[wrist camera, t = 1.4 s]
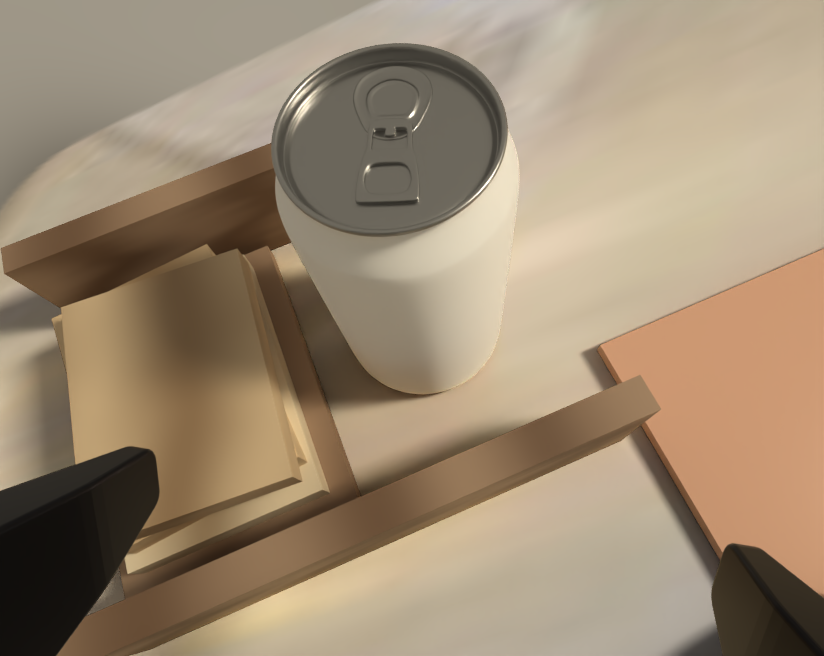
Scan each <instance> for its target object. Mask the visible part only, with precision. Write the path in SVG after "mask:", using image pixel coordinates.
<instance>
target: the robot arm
mask: <svg viewBox="0 0 824 656" xmlns="http://www.w3.org/2000/svg"><path fill="white" fill-rule="evenodd" d="M159 494H160V488H159V479H158V470H157V462H156V456H155V454H154V452H153V451H152V450H150V449H146V448H140V447H134V446H127V447H124V448H121V449H118V450H115V451H112V452H110V453H107V454H104V455H101V456H98V457H95V458H93V459H90V460H87V461H84V462H81V463H78V464H75V465H73V466H70V467H67V468H64V469H61V470H58V471H56V472H53V473H50V474H47V475H44V476H41V477H38V478H36V479H33V480H30V481H27V482H24V483H21V484H19V485H16V486H13V487H10V488H7V489H4V490H1V491H0V656H57V654H58V653H59V652H60V650H61V649H62V648H63V646H64V645H65V643H66V642H67V641H68V639H69V638H70V637H71V635H72V634H73V633H74V631H75V630H76V629H77V627H78V626H79V624H80V623H81V622H82V620H83V619H84V618H85V616H86V615H87V614H88V612H89V611H90V610H91V608H92V607H93V605H94V604H95V603H96V601H97V600H98V599H99V597H100V596H101V594H102V593H103V591H104V590H105V589H106V587H107V586H108V584H109V583H110V581H111V579H112V578H113V576H114V575H115V573H116V572H117V570H118V568H119V567H120V565H121V563H122V562H123V560H124V558H125V557H126V555H127V553H128V552H129V550H130V548H131V547H132V545H133V543H134V542H135V540H136V538H137V537H138V535H139V533H140V532H141V530H142V528H143V527H144V525H145V523H146V522H147V520H148V518H149V517H150V515H151V513H152V512H153V510H154V508H155V506H156V505H157V502H158V499H159ZM711 598H712V606H713V611H714V616H715V620H716V625H717V630H718V635H719V639H720V644H721V649H722V654H723V656H824V598H823V597H822V596H821V595H820V594H818V593H817V592H816V591H814V590H813V589H812V588H811V587H809V586H808V585H807V584H806V583H804V582H803V581H802V580H801V579H799V578H798V577H797V576H795V575H794V574H793V573H792V572H790V571H789V570H788V569H787V568H785V567H784V566H783V565H782V564H780V563H779V562H778V561H776V560H775V559H774V558H773V557H771V556H770V555H769V554H768V553H766V552H765V551H764V550H762V549H761V548H758V547H755V546H749V545H742V544H736V543H731V544H728V545H727V546H726V547H725V549H724V551H723V554H722V557H721V560H720V563H719V567H718V570H717V573H716V576H715V579H714V582H713V586H712V594H711Z"/></svg>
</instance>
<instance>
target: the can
mask: <svg viewBox="0 0 824 656" xmlns="http://www.w3.org/2000/svg"><path fill="white" fill-rule="evenodd" d="M271 155H272V163H273V167H274V171H275V174H276V179H275V194H276V202H277V207H278V211H279V214H280V217H281V220H282V223H283V226H284V228H285V230H286V232H287V234H288V236H289V238H290V240H291V242H292V244H293V246H294V248H295V250H296V252H297V253H298V255H299V257H300V259H301V261H302V263H303V264H304V266H305V268H306V270H307V272H308V274H309V275H310V277H311V279H312V281H313V283H314V284H315V286H316V288H317V290H318V292H319V293H320V295H321V297H322V299H323V300H324V302H325V304H326V306H327V308H328V309H329V311H330V313H331V315H332V316H333V318H334V320H335V322H336V324H337V325H338V327H339V329H340V331H341V332H342V334H343V336H344V338H345V339H346V341H347V343H348V345H349V346H350V348H351V350H352V351H353V353H354V355H355V356H356V358H357V359H358V361H359V362H360V364H361V365H362V366H363V368H364V369H365V370H366V371H367V372H368V373H369V374H370V375H371V376H372V377H374V378H375V379H376V380H378V381H379V382H381V383H382V384H384V385H386V386H388V387H390V388H392V389H395V390H398V391H401V392H406V393H411V394H433V393H439V392H443V391H446V390H449V389H452V388H454V387H457V386H459V385H461V384H463V383H464V382H466V381H467V380H469V379H470V378H472V377H473V376H474V375H475V374H476V373H477V372H478V371H479V370H480V369H481V368H482V367H483V366H484V365H485V364H486V362H487V361H488V359H489V358H490V356H491V354H492V352H493V350H494V348H495V346H496V343H497V340H498V336H499V332H500V327H501V321H502V314H503V307H504V300H505V293H506V286H507V279H508V272H509V265H510V257H511V250H512V242H513V235H514V227H515V220H516V211H517V203H518V193H519V162H518V156H517V151H516V148H515V145H514V142H513V139H512V137H511V135H510V133H509V130H508V125H507V117H506V112H505V109H504V106H503V103H502V101H501V98H500V96H499V94H498V93H497V91H496V89H495V88H494V86H493V85H492V84H491V82H490V81H489V80H488V79H487V78H486V76H485V75H484V74H483V73H482V72H480V71H479V70H478V69H477V68H476V67H474V66H473V65H472V64H470V63H469V62H467V61H466V60H464V59H462V58H460V57H458V56H456V55H454V54H452V53H449V52H447V51H444V50H441V49H438V48H434V47H430V46H425V45H419V44H408V43H393V44H382V45H375V46H370V47H365V48H362V49H358V50H355V51H352V52H349V53H346V54H344V55H342V56H339V57H337V58H335V59H333V60H331V61H329V62H328V63H326V64H324V65H323V66H321V67H320V68H318V69H317V70H315V71H314V72H313V73H311V74H310V75H309V76H308V77H306V78H305V79H304V80H303V81H302V82H301V83H300V84H299V85H298V86H297V87H296V88H295V90H294V91H293V92H292V93H291V94H290V96H289V97H288V99H287V100H286V102H285V103H284V105H283V107H282V108H281V110H280V112H279V115H278V117H277V120H276V122H275V126H274V129H273V134H272V141H271Z"/></svg>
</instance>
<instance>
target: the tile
mask: <svg viewBox="0 0 824 656" xmlns="http://www.w3.org/2000/svg"><path fill="white" fill-rule="evenodd" d="M597 351H598V353H599V354H600V356H601V358H602V359H603V361H604V363H605V365H606V366H607V368H608V370H609V371H610V373H611V375H612V376H613V378H614V380H615V382H616V383H617V385H618V384H620V383H622V382H625V381H627V380H629V379H631V378H634V377H636V376H638V375H641V377H642V378H643V380H644V382H645V383H646V385H647V387H648V388H649V390H650V391H651V393H652V395H653V396H654V398H655V400H656V401H657V403H658V405H659V406H660V408H661V410H660V411H659V412H657V413H656V414H655V415H653V416H652V417H651V418H650V419H648V420H647V421H646V422H644V423H643V424H642V425H641V426H642V428H643V429H644V431H645V433H646V435H647V436H648V438H649V440H650V441H651V443H652V445H653V447H654V448H655V450H656V452H657V453H658V455H659V457H660V459H661V460H662V462H663V464H664V465H665V467H666V469H667V470H668V472H669V474H670V476H671V477H672V479H673V481H674V482H675V484H676V486H677V488H678V489H679V491H680V493H681V494H682V496H683V498H684V500H685V501H686V503H687V505H688V506H689V508H690V510H691V512H692V513H693V515H694V517H695V518H696V520H697V522H698V523H699V525H700V527H701V529H702V530H703V532H704V534H705V535H706V537H707V539H708V541H709V542H710V544H711V546H712V547H713V549H714V551H715V553H716V554H717V556H718V558H719V559H720V560H721V557H722V554H723V551H724V549H725V547H726V546H727V545H728V544H731V543H736V544H742V545H749V546H755V547H758V548H761V549H762V550H764V551H765V552H766V553H768V554H769V555H770V556H771V557H773V558H774V559H775V560H776V561H778V562H779V563H780V564H782V565H783V566H784V567H785V568H787V569H788V570H789V571H790V572H792V573H793V574H794V575H795V576H797V577H798V578H799V579H801V580H802V581H803V582H804V583H806V584H807V585H808V586H809V587H811V588H812V589H813V590H814V591H816V592H817V593H818V594H820V595H821V596H822V597H823V598H824V249H822V250H820V251H818V252H815V253H813V254H811V255H808V256H806V257H804V258H801V259H799V260H797V261H794V262H792V263H790V264H787V265H785V266H783V267H780V268H778V269H776V270H773V271H771V272H769V273H766V274H764V275H762V276H759V277H757V278H755V279H752V280H750V281H748V282H746V283H743V284H741V285H739V286H736V287H734V288H732V289H729V290H727V291H725V292H722V293H720V294H718V295H715V296H713V297H711V298H708V299H706V300H704V301H701V302H699V303H697V304H694V305H692V306H690V307H687V308H685V309H683V310H680V311H678V312H676V313H673V314H671V315H669V316H667V317H664V318H662V319H660V320H657V321H655V322H653V323H650V324H648V325H646V326H643V327H641V328H639V329H636V330H634V331H632V332H629V333H627V334H625V335H622V336H620V337H618V338H615V339H613V340H611V341H608V342H606V343H604V344H601V345H600V346H599V348H598V349H597Z"/></svg>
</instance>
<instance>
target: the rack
mask: <svg viewBox="0 0 824 656" xmlns="http://www.w3.org/2000/svg"><path fill="white" fill-rule="evenodd" d="M275 179H276V174H275V171H274V167H273V163H272V155H271V143H270V144H267V145H265V146H262V147H260V148H257V149H254V150H252V151H249V152H247V153H244V154H242V155H239V156H237V157H234V158H231V159H229V160H226V161H224V162H221V163H219V164H216V165H213V166H211V167H208V168H206V169H203V170H201V171H198V172H195V173H193V174H190V175H188V176H185V177H183V178H180V179H177V180H175V181H172V182H170V183H167V184H165V185H162V186H159V187H157V188H154V189H152V190H149V191H147V192H144V193H141V194H139V195H136V196H134V197H131V198H129V199H126V200H123V201H121V202H118V203H116V204H113V205H111V206H108V207H105V208H103V209H100V210H98V211H95V212H93V213H90V214H87V215H85V216H82V217H80V218H77V219H75V220H72V221H70V222H67V223H64V224H62V225H59V226H57V227H54V228H52V229H49V230H46V231H44V232H41V233H39V234H36V235H34V236H31V237H28V238H26V239H23V240H21V241H18V242H16V243H13V244H10V245H8V246H5V247H3V248H1V253H2V261H3V268H4V274H6V275H7V276H9V277H11V278H12V279H14V280H15V281H17V282H19V283H20V284H22V285H24V286H25V287H27V288H28V289H30V290H32V291H33V292H35V293H37V294H38V295H40V296H42V297H43V298H45V299H46V300H48V301H50V302H51V303H53V304H55V305H56V306H58V307H59V308H61V314H60V315H58V316H56V317H54V318H52V323H53V326H54V330H55V333H56V337H57V341H58V344H59V348H60V351H61V355H62V359H63V362H64V366H65V369H66V373H67V379H68V390H69V401H70V412H71V422H72V433H73V444H74V455H75V464H78V463H81V462H84V461H87V460H90V459H93V458H95V457H98V456H101V455H104V454H107V453H110V452H112V451H115V450H118V449H121V448H124V447H127V446H134V447H140V448H146V449H150V450H152V451H153V452H154V454H155V456H156V462H157V470H158V479H159V488H160V494H159V499H158V502H157V505H156V506H155V508H154V510H153V512H152V513H151V515H150V517H149V518H148V520H147V522H146V523H145V525H144V527H143V528H142V530H141V532H140V533H139V535H138V537H137V538H136V540H135V542H134V543H133V545H132V547H131V548H130V550H129V552H128V553H127V555H126V557H125V558H124V560H123V562H122V563H121V565H120V567H119V569H120V574H121V580H122V585H123V591H124V596H125V600H123V601H120V602H118V603H116V604H113V605H111V606H109V607H106V608H104V609H102V610H100V611H97V612H95V613H93V614H90V615H88V616H86V617H85V618H84V619H83V620H82V622H81V623H80V624H79V626H78V627H77V629H76V630H75V631H74V633H73V634H72V635H71V637H70V638H69V639H68V641H67V642H66V643H65V645H64V646H63V648H62V649H61V650H60V652H59V653H58V654H57V656H129V655H133V654H136V653H140V652H143V651H147V650H150V649H153V648H155V647H157V646H159V645H162V644H164V643H166V642H168V641H171V640H173V639H175V638H177V637H180V636H182V635H184V634H186V633H189V632H191V631H193V630H195V629H198V628H200V627H202V626H204V625H207V624H209V623H211V622H213V621H216V620H218V619H220V618H222V617H225V616H227V615H229V614H231V613H234V612H236V611H238V610H240V609H243V608H245V607H247V606H250V605H252V604H254V603H256V602H259V601H261V600H263V599H265V598H268V597H270V596H272V595H274V594H277V593H279V592H281V591H283V590H286V589H288V588H290V587H292V586H295V585H297V584H299V583H301V582H304V581H306V580H308V579H310V578H313V577H315V576H317V575H319V574H322V573H324V572H326V571H328V570H331V569H333V568H335V567H337V566H340V565H342V564H344V563H346V562H349V561H351V560H353V559H355V558H358V557H360V556H362V555H365V554H367V553H369V552H371V551H374V550H376V549H378V548H380V547H383V546H385V545H387V544H389V543H392V542H394V541H396V540H398V539H401V538H403V537H405V536H407V535H410V534H412V533H414V532H416V531H419V530H421V529H423V528H425V527H428V526H430V525H432V524H434V523H437V522H439V521H441V520H443V519H446V518H448V517H450V516H452V515H455V514H457V513H459V512H461V511H464V510H466V509H468V508H470V507H473V506H475V505H477V504H480V503H482V502H484V501H486V500H489V499H491V498H493V497H495V496H498V495H500V494H502V493H504V492H507V491H509V490H511V489H513V488H516V487H518V486H520V485H522V484H525V483H527V482H529V481H531V480H534V479H536V478H538V477H540V476H543V475H545V474H547V473H549V472H552V471H554V470H556V469H558V468H561V467H563V466H565V465H567V464H570V463H572V462H574V461H576V460H579V459H581V458H583V457H585V456H588V455H590V454H592V453H595V452H597V451H599V450H601V449H604V448H606V447H608V446H610V445H613V444H615V443H617V442H619V441H621V440H623V439H624V438H625V437H626V436H628V435H629V434H630V433H632V432H633V431H634V430H635V429H637V428H638V427H639V426H641V425H642V424H643V423H644V422H646V421H647V420H648V419H650V418H651V417H652V416H653V415H655V414H656V413H657V412H659V411H660V410H661V408H660V406H659V405H658V403H657V401H656V400H655V398H654V396H653V395H652V393H651V391H650V390H649V388H648V387H647V385H646V383H645V382H644V380H643V378H642V377H641V375H638V376H636V377H634V378H631V379H629V380H627V381H625V382H622V383H620V384H618V385H615V386H613V387H611V388H608V389H606V390H604V391H602V392H599V393H597V394H595V395H592V396H590V397H588V398H586V399H583V400H581V401H579V402H576V403H574V404H572V405H570V406H567V407H565V408H563V409H560V410H558V411H556V412H553V413H551V414H549V415H547V416H544V417H542V418H540V419H537V420H535V421H533V422H531V423H528V424H526V425H524V426H521V427H519V428H517V429H514V430H512V431H510V432H508V433H505V434H503V435H501V436H498V437H496V438H494V439H492V440H489V441H487V442H485V443H482V444H480V445H478V446H476V447H473V448H471V449H469V450H466V451H464V452H462V453H459V454H457V455H455V456H453V457H450V458H448V459H446V460H443V461H441V462H439V463H437V464H434V465H432V466H430V467H427V468H425V469H423V470H421V471H418V472H416V473H414V474H411V475H409V476H407V477H404V478H402V479H400V480H398V481H395V482H393V483H391V484H388V485H386V486H384V487H382V488H379V489H377V490H375V491H372V492H370V493H368V494H365V495H363V496H361V495H360V492H359V489H358V486H357V483H356V481H355V478H354V475H353V472H352V470H351V467H350V464H349V461H348V459H347V456H346V453H345V450H344V448H343V445H342V442H341V439H340V437H339V434H338V431H337V428H336V425H335V423H334V420H333V417H332V414H331V412H330V409H329V406H328V403H327V401H326V398H325V395H324V392H323V390H322V387H321V384H320V381H319V378H318V376H317V373H316V370H315V367H314V365H313V362H312V359H311V356H310V354H309V351H308V348H307V345H306V343H305V340H304V337H303V334H302V331H301V329H300V326H299V323H298V320H297V318H296V315H295V312H294V309H293V307H292V304H291V301H290V298H289V296H288V293H287V290H286V287H285V285H284V282H283V279H282V276H281V273H280V271H279V268H278V265H277V262H276V260H275V257H274V255H273V254H272V252H271V251H270V250H273V249H275V248H278V247H280V246H283V245H285V244H288V243H290V242H291V240H290V238H289V236H288V234H287V232H286V230H285V228H284V226H283V223H282V220H281V217H280V214H279V211H278V207H277V202H276V194H275Z"/></svg>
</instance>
